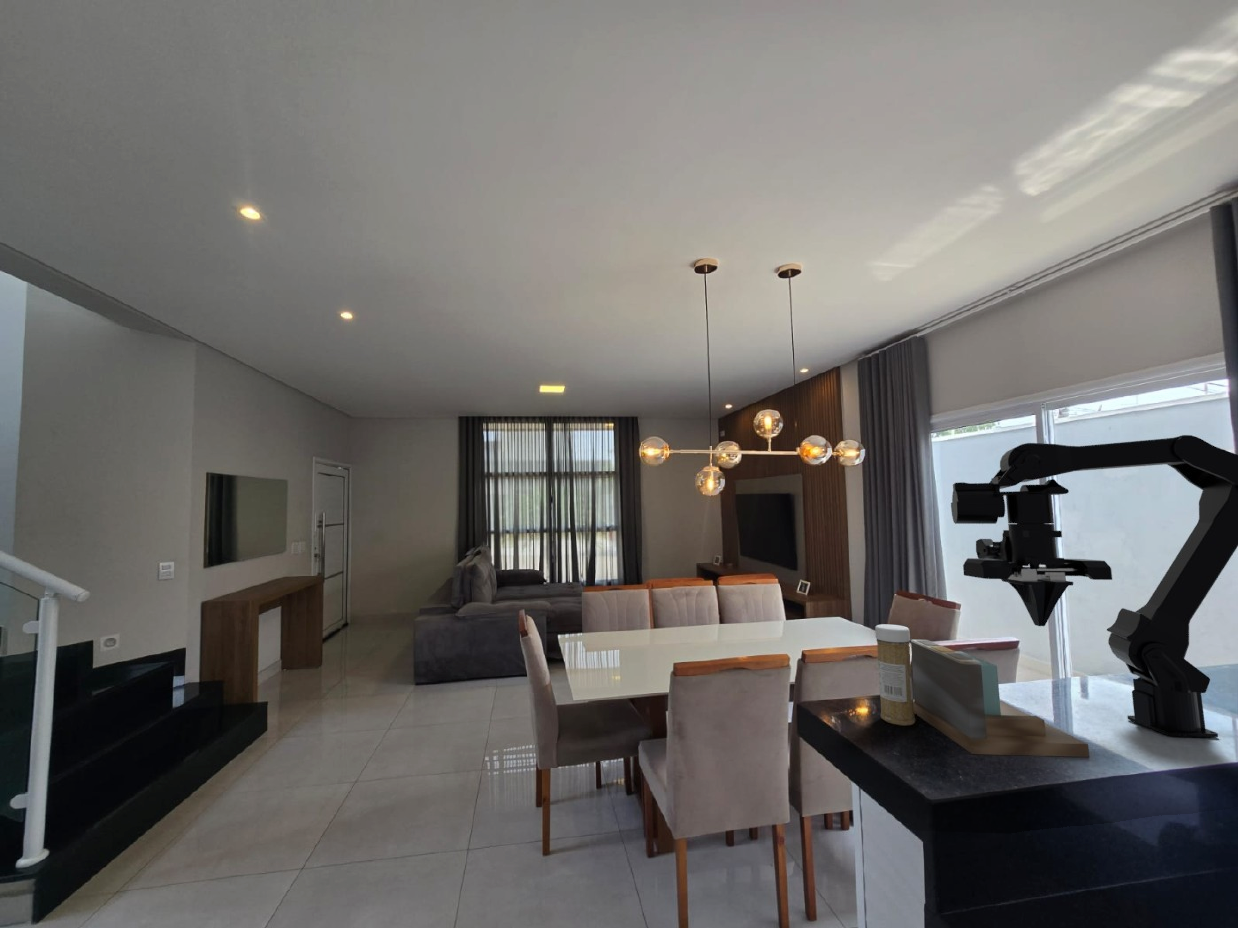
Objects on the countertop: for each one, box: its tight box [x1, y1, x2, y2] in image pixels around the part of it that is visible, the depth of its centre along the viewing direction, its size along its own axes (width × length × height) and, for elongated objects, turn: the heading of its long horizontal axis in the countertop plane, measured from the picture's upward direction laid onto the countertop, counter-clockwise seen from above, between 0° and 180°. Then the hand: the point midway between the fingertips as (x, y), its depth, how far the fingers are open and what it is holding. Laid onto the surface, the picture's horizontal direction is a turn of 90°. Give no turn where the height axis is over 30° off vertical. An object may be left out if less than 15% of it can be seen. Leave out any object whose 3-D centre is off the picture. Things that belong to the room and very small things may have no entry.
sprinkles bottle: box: [874, 623, 916, 727], centre depth 77 cm, size 5×5×13 cm
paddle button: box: [954, 650, 1001, 715], centre depth 74 cm, size 3×8×8 cm, turn 177°
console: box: [910, 639, 1090, 758], centre depth 74 cm, size 14×16×11 cm
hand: (1039, 625), depth 81 cm, fingers closed
